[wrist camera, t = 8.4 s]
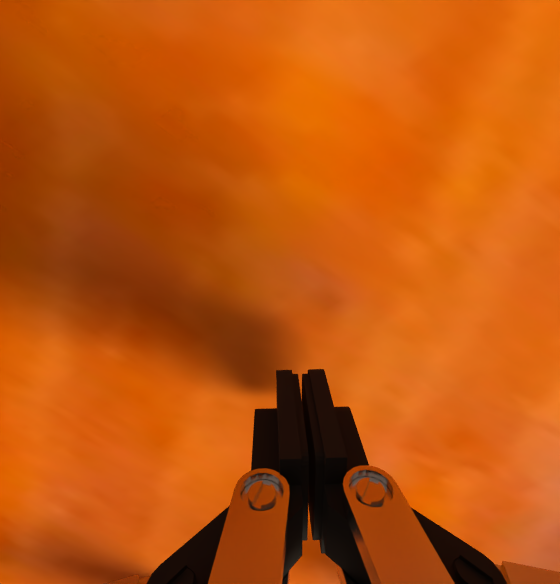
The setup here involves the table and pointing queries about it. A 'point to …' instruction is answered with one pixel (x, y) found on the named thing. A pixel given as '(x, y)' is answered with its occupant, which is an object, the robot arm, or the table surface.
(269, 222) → the table surface
